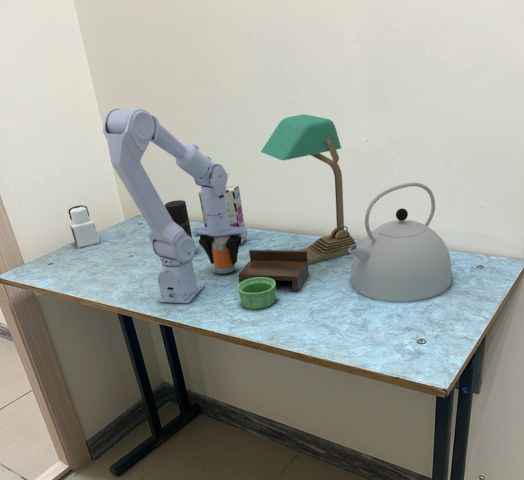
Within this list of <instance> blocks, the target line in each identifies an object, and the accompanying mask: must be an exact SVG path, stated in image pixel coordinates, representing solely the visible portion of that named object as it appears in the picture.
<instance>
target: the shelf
mask: <svg viewBox="0 0 524 480" xmlns="http://www.w3.org/2000/svg"><path fill="white" fill-rule="evenodd" d="M248 252H249V253H248V254H249V261H248V262H247V263H246V264H245V266H244V267H243V268H242V269H241V270H240V272H239V273H238V274H237V277H238V284H239V283H241V282H242V281H244V280H247V279H250V278H256V277H267V278H271V279H273V280H274V281H290V282H291V285H292V292H297V293H298V292H299V291H300V290H301V289H302V287H303V285H304V283H305V281H306V280H307V278H308V276H309V275H310V273H309V264H308V259H307V250H300V249H249V251H248Z"/></svg>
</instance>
